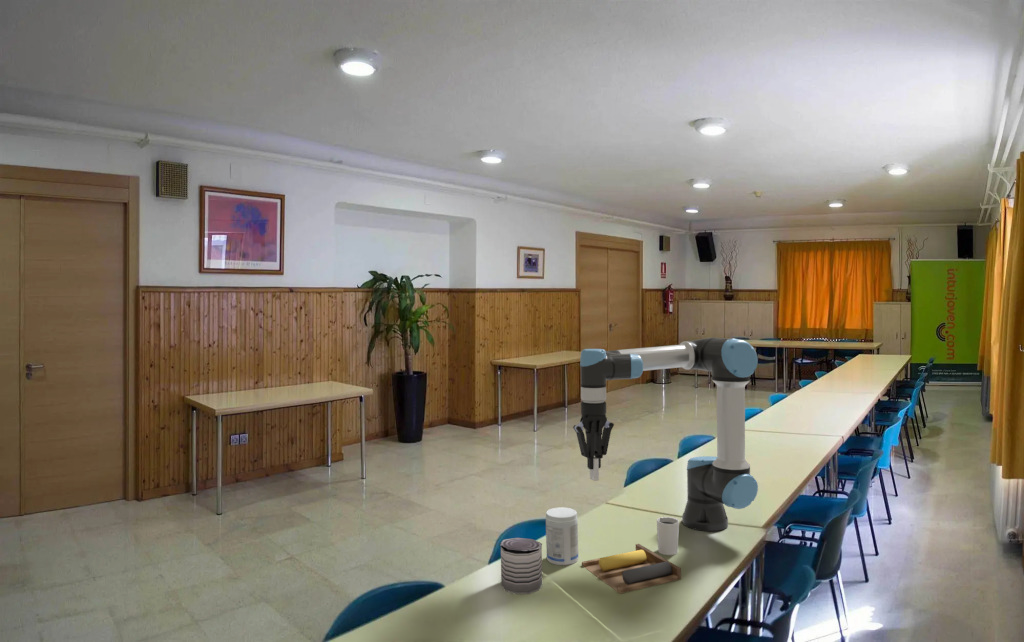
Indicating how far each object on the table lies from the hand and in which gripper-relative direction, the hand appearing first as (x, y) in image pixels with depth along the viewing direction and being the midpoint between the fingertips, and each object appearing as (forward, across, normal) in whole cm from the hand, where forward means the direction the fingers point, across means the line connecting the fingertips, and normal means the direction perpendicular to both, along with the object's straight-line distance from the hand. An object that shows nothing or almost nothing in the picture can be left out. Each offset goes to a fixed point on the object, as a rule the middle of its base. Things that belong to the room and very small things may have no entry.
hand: (594, 479), depth 194 cm
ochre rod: (+24, -4, +9) cm, 26 cm away
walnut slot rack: (+24, -4, +12) cm, 28 cm away
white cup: (+25, -23, +5) cm, 34 cm away
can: (+25, +27, +6) cm, 37 cm away
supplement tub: (+25, +9, -4) cm, 27 cm away
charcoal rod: (+24, -6, +18) cm, 31 cm away
